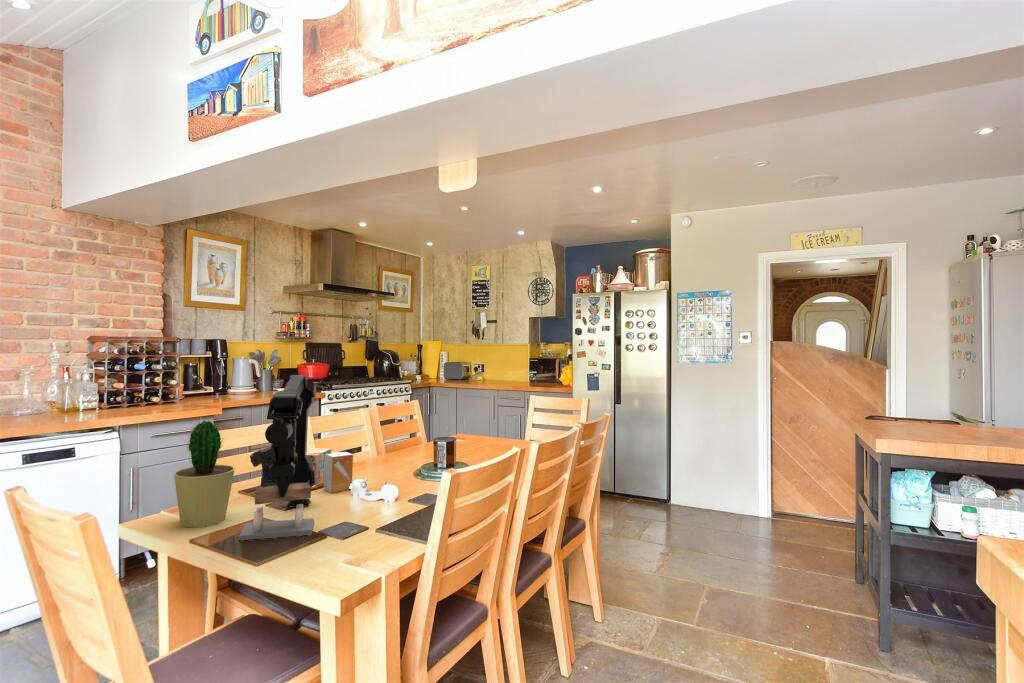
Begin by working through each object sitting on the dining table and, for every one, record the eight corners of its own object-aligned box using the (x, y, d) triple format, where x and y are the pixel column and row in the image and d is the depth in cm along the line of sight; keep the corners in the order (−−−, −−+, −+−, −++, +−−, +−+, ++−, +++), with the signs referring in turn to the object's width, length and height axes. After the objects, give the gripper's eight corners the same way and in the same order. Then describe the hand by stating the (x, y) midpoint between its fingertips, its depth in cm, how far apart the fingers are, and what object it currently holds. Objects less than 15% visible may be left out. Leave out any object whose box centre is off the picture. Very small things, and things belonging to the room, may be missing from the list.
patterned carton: (327, 473, 207) (328, 443, 207) (341, 474, 206) (342, 444, 206) (299, 487, 186) (300, 453, 186) (315, 488, 185) (316, 454, 185)
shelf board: (308, 492, 147) (308, 482, 147) (310, 498, 142) (311, 487, 142) (254, 498, 140) (254, 487, 140) (255, 504, 135) (255, 493, 135)
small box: (331, 493, 178) (332, 456, 178) (323, 489, 183) (324, 454, 183) (352, 489, 184) (353, 454, 184) (344, 486, 188) (345, 451, 189)
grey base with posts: (246, 528, 142) (246, 505, 143) (314, 523, 148) (314, 500, 148) (238, 541, 133) (239, 516, 133) (311, 535, 139) (312, 511, 139)
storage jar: (271, 487, 184) (272, 446, 184) (296, 489, 183) (297, 447, 183) (254, 495, 174) (255, 451, 175) (280, 496, 173) (281, 453, 173)
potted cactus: (241, 520, 148) (244, 419, 149) (181, 534, 137) (185, 424, 138) (223, 508, 159) (226, 414, 159) (165, 520, 147) (169, 418, 148)
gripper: (256, 433, 147) (255, 487, 147) (248, 445, 130) (246, 506, 129) (298, 432, 151) (296, 484, 151) (294, 443, 134) (293, 502, 133)
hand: (283, 493), depth 141 cm, fingers closed on shelf board, 6 cm apart
